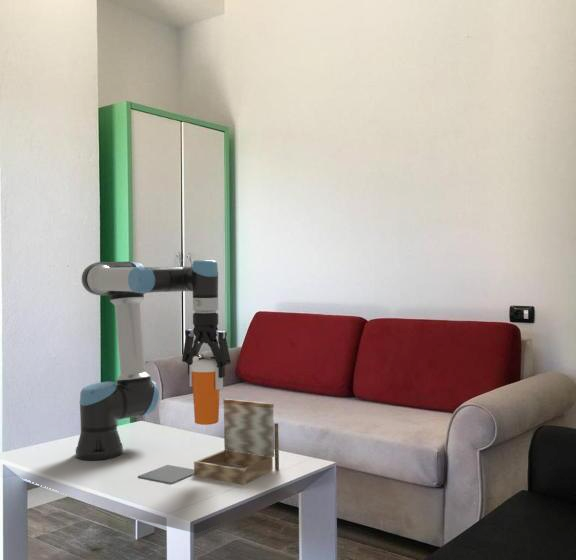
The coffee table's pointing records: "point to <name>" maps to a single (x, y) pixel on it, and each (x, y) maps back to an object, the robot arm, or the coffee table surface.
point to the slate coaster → (168, 474)
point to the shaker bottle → (205, 390)
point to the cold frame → (243, 443)
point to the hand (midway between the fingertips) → (206, 387)
